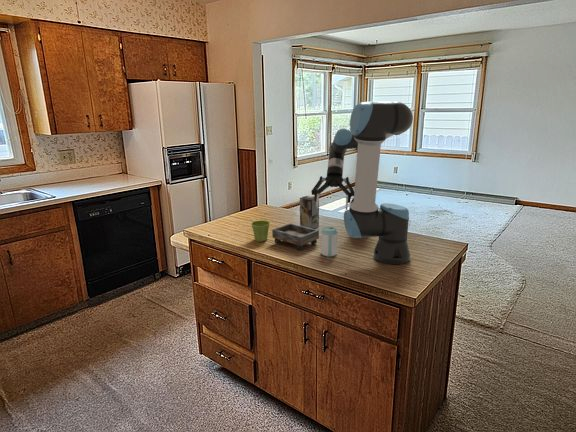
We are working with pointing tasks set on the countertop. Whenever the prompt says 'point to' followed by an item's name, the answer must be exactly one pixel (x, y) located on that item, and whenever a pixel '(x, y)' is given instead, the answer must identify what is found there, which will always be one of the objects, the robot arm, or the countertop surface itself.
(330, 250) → the can
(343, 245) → the countertop surface
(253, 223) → the plant pot
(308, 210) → the coffee box
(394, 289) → the countertop surface
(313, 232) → the grey rectangular tray
